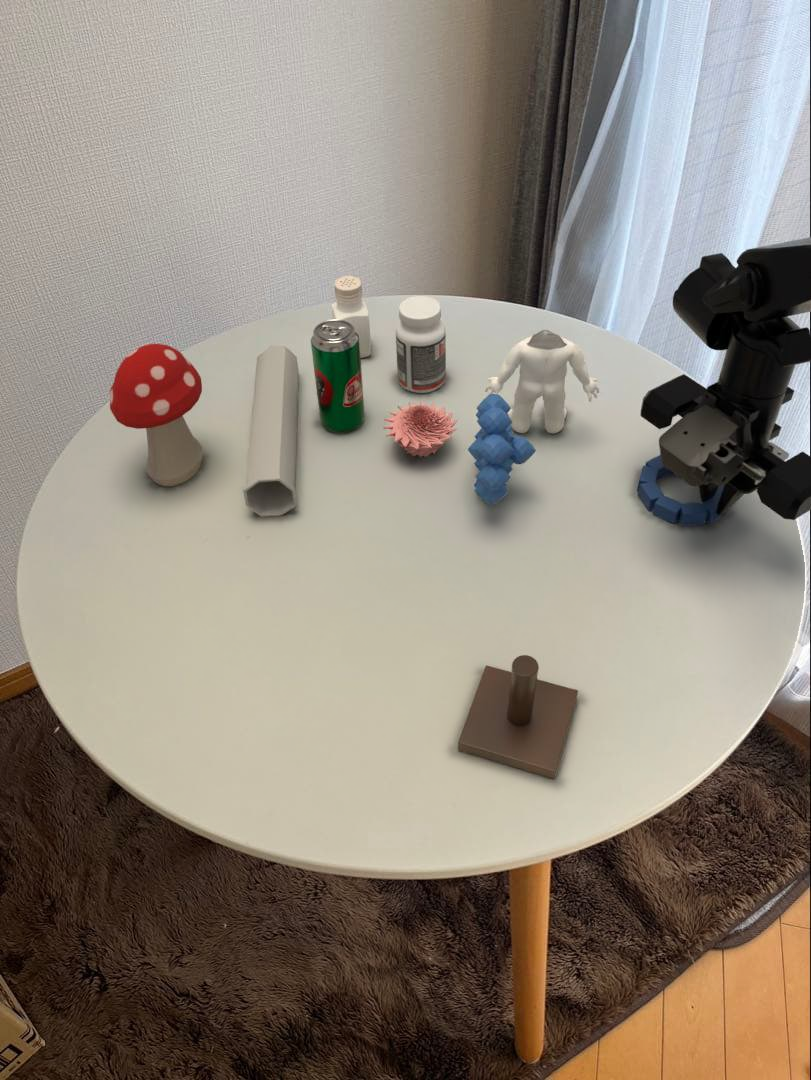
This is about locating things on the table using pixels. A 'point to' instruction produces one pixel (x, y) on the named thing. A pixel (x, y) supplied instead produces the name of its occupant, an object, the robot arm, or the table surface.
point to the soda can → (338, 375)
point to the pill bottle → (421, 345)
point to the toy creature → (542, 378)
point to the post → (519, 718)
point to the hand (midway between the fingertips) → (713, 507)
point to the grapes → (496, 449)
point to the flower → (421, 428)
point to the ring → (669, 506)
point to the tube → (273, 434)
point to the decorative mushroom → (160, 409)
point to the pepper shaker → (353, 310)
